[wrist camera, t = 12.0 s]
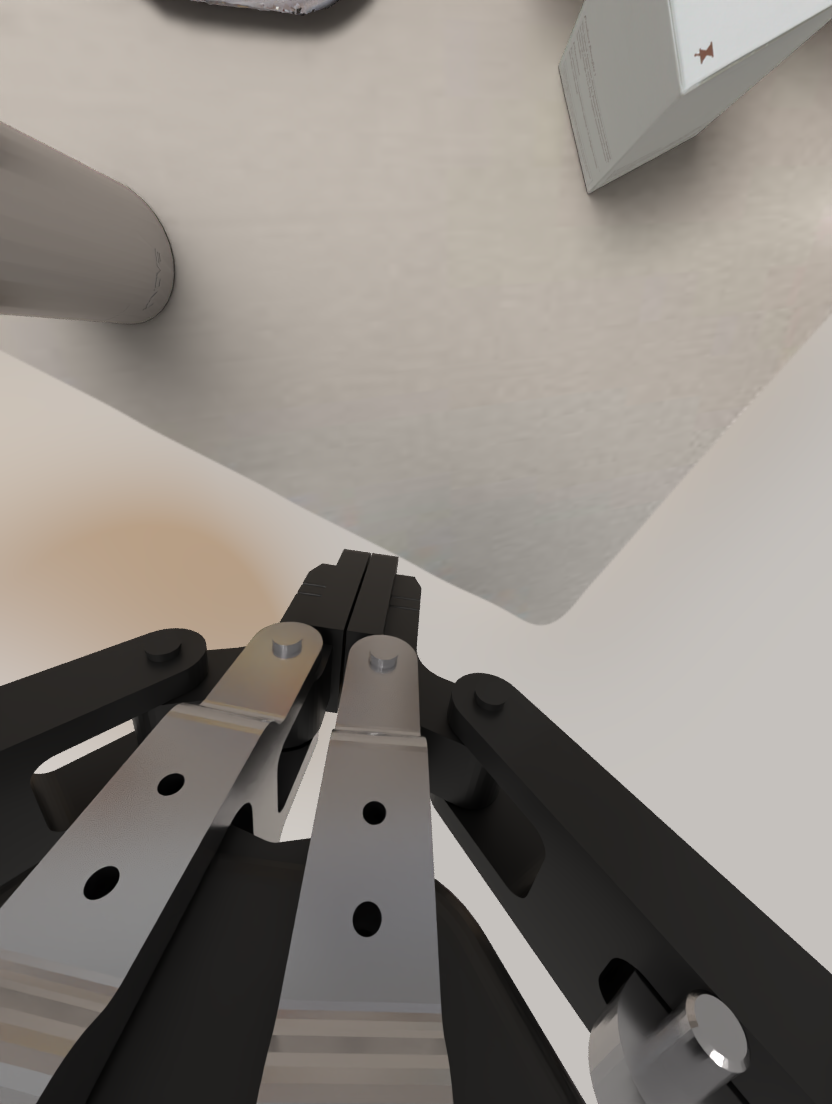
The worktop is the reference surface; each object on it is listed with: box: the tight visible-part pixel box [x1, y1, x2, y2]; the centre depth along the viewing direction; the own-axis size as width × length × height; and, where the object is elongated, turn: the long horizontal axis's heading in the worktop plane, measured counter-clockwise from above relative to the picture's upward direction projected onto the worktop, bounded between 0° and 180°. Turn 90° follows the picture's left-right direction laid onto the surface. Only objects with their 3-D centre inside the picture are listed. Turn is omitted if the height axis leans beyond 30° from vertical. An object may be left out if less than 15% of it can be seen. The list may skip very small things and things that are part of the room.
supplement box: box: [559, 0, 832, 193], centre depth 21 cm, size 7×7×13 cm
